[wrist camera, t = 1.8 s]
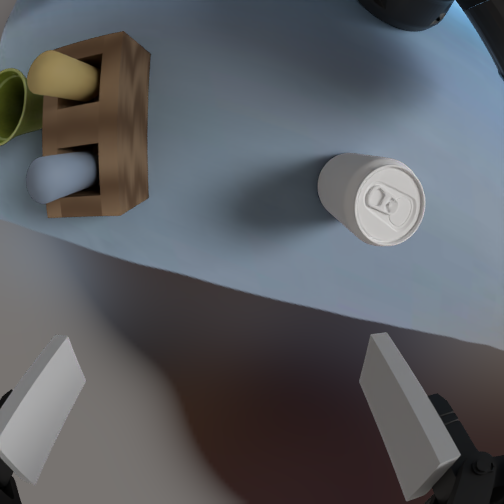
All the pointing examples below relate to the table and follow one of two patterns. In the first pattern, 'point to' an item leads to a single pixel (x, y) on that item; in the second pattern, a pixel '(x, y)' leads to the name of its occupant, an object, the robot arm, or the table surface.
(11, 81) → the plant pot
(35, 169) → the blue peg
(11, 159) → the table surface
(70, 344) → the robot arm
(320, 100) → the table surface
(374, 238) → the beverage can
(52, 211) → the walnut block
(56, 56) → the ochre peg
